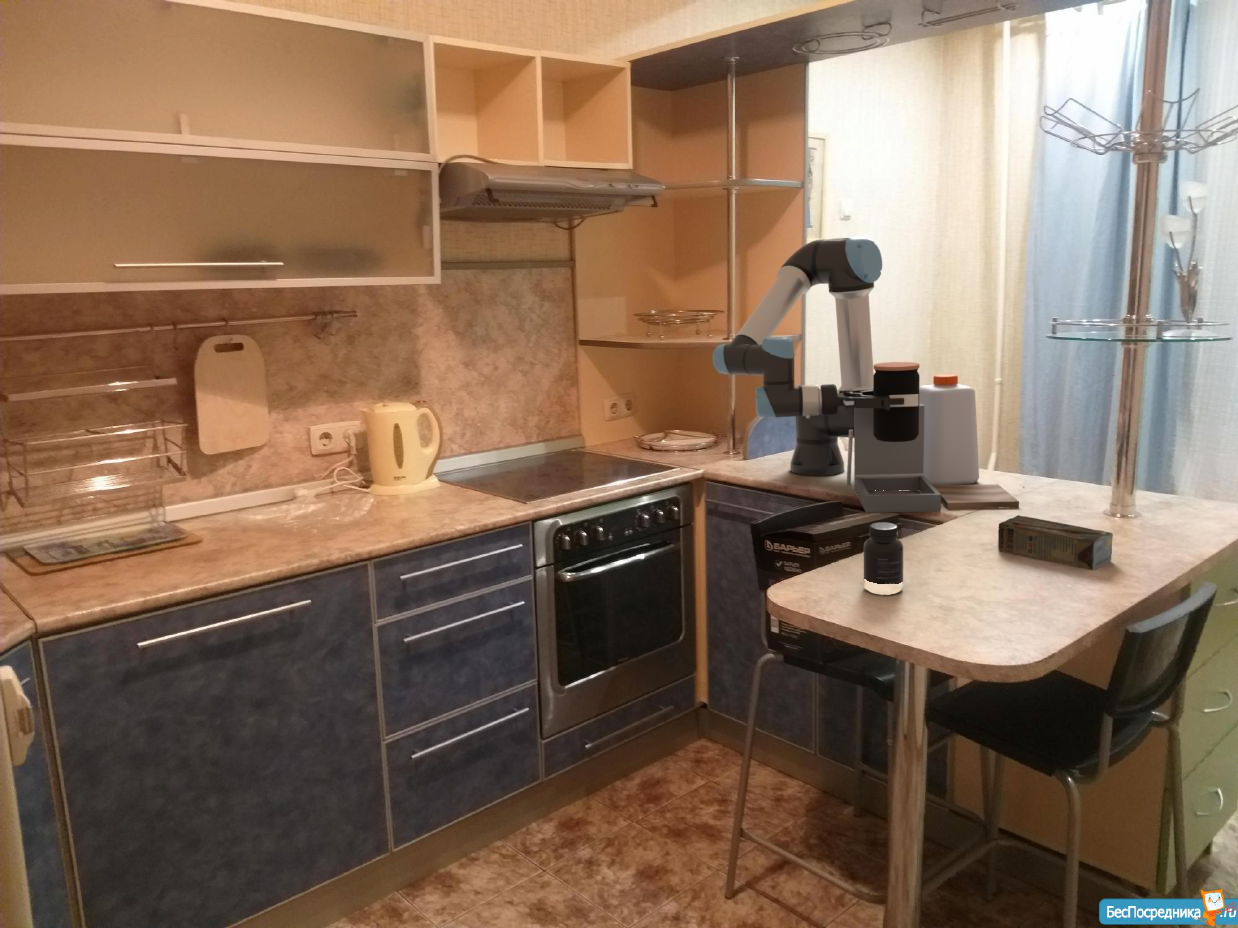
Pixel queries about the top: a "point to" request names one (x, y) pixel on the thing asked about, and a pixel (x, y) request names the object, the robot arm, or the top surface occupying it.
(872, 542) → the supplement bottle
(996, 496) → the walnut board
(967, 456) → the plastic bottle
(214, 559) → the top surface
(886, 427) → the coffee jar
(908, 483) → the equipment case
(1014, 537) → the beverage carton
